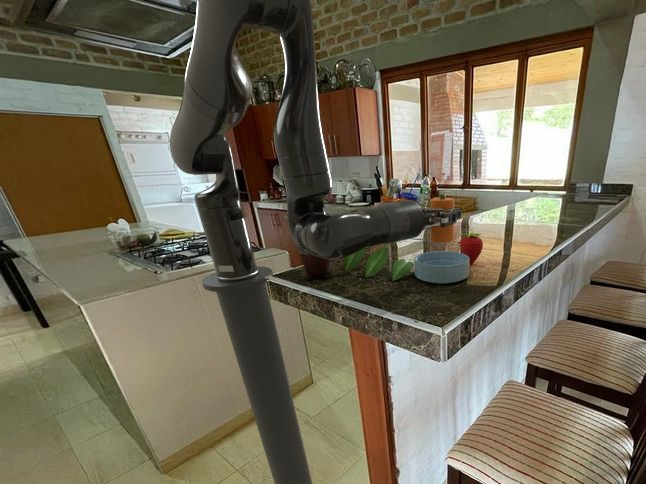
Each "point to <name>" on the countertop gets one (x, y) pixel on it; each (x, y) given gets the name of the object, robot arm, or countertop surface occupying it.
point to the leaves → (378, 263)
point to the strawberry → (471, 246)
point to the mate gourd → (315, 265)
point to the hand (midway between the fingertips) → (449, 211)
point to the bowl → (441, 266)
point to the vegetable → (436, 231)
